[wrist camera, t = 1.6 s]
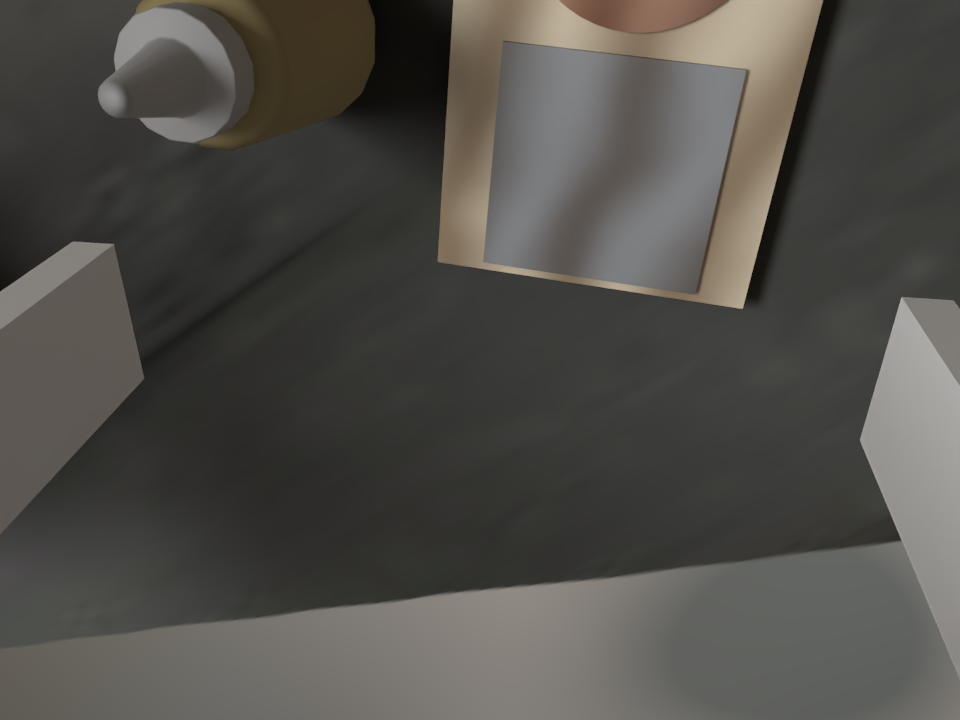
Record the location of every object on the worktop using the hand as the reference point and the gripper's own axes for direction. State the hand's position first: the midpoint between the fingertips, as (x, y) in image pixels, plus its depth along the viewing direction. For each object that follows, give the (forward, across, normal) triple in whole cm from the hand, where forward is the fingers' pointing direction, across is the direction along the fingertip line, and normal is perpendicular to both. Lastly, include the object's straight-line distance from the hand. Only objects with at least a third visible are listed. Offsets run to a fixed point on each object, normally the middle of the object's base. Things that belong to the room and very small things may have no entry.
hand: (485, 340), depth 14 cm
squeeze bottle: (+31, -12, 0) cm, 33 cm away
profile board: (+30, +3, 0) cm, 30 cm away
